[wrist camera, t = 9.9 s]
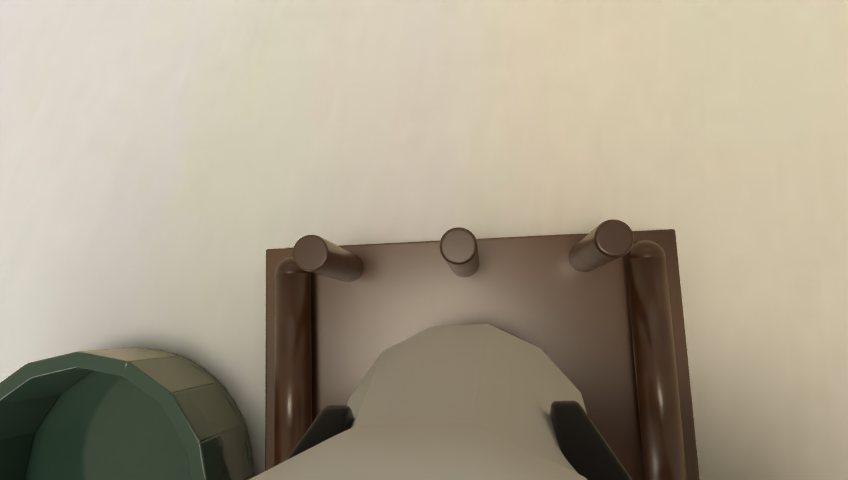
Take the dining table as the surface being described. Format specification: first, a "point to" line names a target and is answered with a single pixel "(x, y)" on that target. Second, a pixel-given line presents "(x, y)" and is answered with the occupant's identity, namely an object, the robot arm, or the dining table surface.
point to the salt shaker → (448, 414)
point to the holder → (120, 420)
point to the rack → (500, 307)
